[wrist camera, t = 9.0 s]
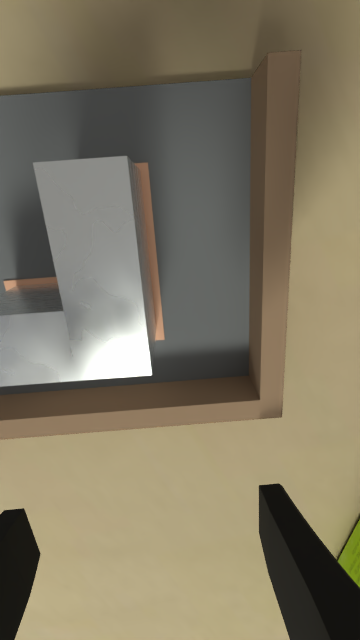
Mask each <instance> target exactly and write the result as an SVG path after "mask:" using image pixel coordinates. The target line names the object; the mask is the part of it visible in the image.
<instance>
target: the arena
mask: <svg viewBox="0 0 360 640" xmlns="http://www.w3.org/2000/svg"><path fill="white" fill-rule="evenodd" d="M300 64H301V50H297V51H283V52H269V53H267V55H266V56H265V58H264V59H263V61H262V62H261V64H260V65H259V67H258V68H257V70H256V71H255V73H254V74H253V76H252V77H251V78H242V79H228V80H214V81H200V82H186V83H173V84H159V85H145V86H131V87H117V88H103V89H89V90H75V91H61V92H47V93H34V94H20V95H6V96H0V294H2V293H4V292H6V291H8V290H9V289H11V288H13V287H15V286H18V285H31V284H45V283H58V281H57V277H56V272H55V267H54V262H53V257H52V253H51V248H50V243H49V238H48V233H47V229H46V224H45V219H44V214H43V209H42V205H41V200H40V195H39V190H38V185H37V181H36V176H35V171H34V166H33V162H47V161H61V160H75V159H89V158H103V157H117V156H128V157H129V158H130V160H131V161H132V162H133V163H134V164H135V165H136V166H137V167H138V168H139V169H140V173H141V183H142V193H143V203H144V213H145V222H146V232H147V242H148V252H149V262H150V271H151V281H152V291H153V301H154V311H155V321H156V337H155V348H154V358H153V369H152V375H145V376H132V377H119V378H106V379H93V380H80V381H67V382H54V383H41V384H28V385H15V386H2V387H0V440H2V439H14V438H27V437H39V436H52V435H65V434H77V433H90V432H102V431H115V430H128V429H140V428H153V427H165V426H178V425H191V424H203V423H216V422H228V421H241V420H254V419H266V418H279V417H282V406H283V387H284V368H285V349H286V330H287V311H288V292H289V273H290V254H291V235H292V216H293V197H294V178H295V159H296V140H297V121H298V102H299V83H300Z"/></svg>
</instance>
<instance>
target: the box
mask: <svg viewBox="0 0 360 640" xmlns="http://www.w3.org/2000/svg"><path fill="white" fill-rule="evenodd" d="M338 563H339V564H340V565H341V566H342V567H343V569H344V570H345V571H346V572H347V573H348V575H349V576H350V577H351V578H352V579H353V580H354V582H355V583H356V584H357V585H358V586H359V587H360V520H359V521H358V523H357V525H356V527H355V529H354V531H353V533H352V535H351V537H350V538H349V540H348V542H347V544H346V546H345V548H344V550H343V552H342V553H341V555H340V557H339V559H338Z"/></svg>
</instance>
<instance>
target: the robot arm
mask: <svg viewBox="0 0 360 640" xmlns="http://www.w3.org/2000/svg"><path fill="white" fill-rule="evenodd" d="M259 534H260V539H261V543H262V547H263V552H264V556H265V560H266V565H267V569H268V573H269V576H270V579H271V582H272V585H273V589H274V592H275V595H276V598H277V601H278V604H279V607H280V610H281V613H282V616H283V619H284V622H285V626H286V629H287V632H288V635H289V638H290V640H360V587H359V586H358V585H357V584H356V583H355V582H354V580H353V579H352V578H351V577H350V576H349V575H348V573H347V572H346V571H345V570H344V569H343V567H342V566H341V565H340V564H339V563H338V561H337V560H336V559H335V558H334V556H333V555H332V554H331V552H330V551H329V550H328V549H327V547H326V546H325V545H324V544H323V542H322V541H321V540H320V539H319V537H318V536H317V535H316V533H315V532H314V531H313V529H312V528H311V527H310V525H309V524H308V523H307V521H306V520H305V519H304V517H303V516H302V514H301V513H300V512H299V510H298V509H297V507H296V506H295V505H294V503H293V502H292V500H291V499H290V497H289V496H288V494H287V493H286V491H285V490H284V488H283V486H281V485H280V484H269V485H259ZM39 558H40V551H39V549H38V546H37V543H36V540H35V537H34V535H33V532H32V529H31V526H30V524H29V521H28V518H27V515H26V513H25V510H24V509H14V510H4V511H3V512H2V513H1V515H0V640H14V639H15V636H16V634H17V631H18V628H19V625H20V622H21V620H22V617H23V614H24V611H25V608H26V605H27V603H28V600H29V597H30V593H31V590H32V586H33V582H34V578H35V574H36V570H37V566H38V562H39Z"/></svg>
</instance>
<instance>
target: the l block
mask: <svg viewBox="0 0 360 640" xmlns="http://www.w3.org/2000/svg"><path fill="white" fill-rule="evenodd" d="M33 166H34V171H35V176H36V181H37V185H38V190H39V195H40V200H41V205H42V209H43V214H44V219H45V224H46V229H47V233H48V238H49V243H50V248H51V253H52V257H53V262H54V267H55V272H56V277H57V281H58V283H45V284H31V285H18V286H15V287H13V288H11V289H9V290H8V291H6V292H4V293H2V294H0V387H2V386H15V385H28V384H41V383H54V382H67V381H80V380H93V379H106V378H119V377H132V376H145V375H152V369H153V358H154V348H155V337H156V321H155V311H154V301H153V291H152V281H151V271H150V262H149V252H148V242H147V232H146V222H145V213H144V203H143V193H142V183H141V173H140V169H139V168H138V167H137V166H136V165H135V164H134V163H133V162H132V161H131V160H130V158H129V157H128V156H117V157H103V158H89V159H75V160H61V161H47V162H33Z"/></svg>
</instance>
